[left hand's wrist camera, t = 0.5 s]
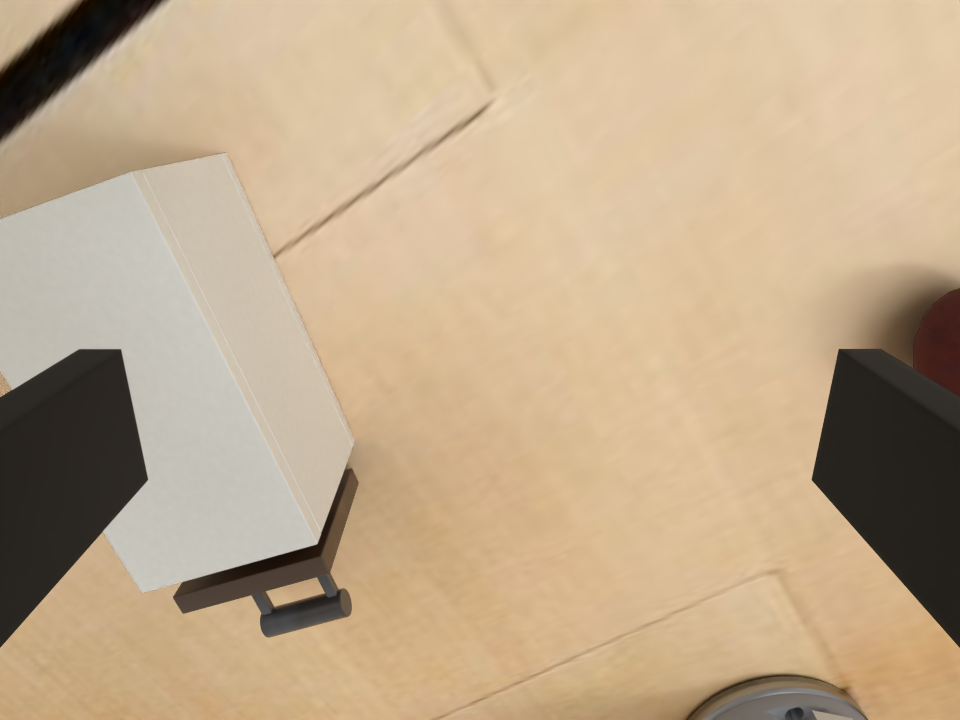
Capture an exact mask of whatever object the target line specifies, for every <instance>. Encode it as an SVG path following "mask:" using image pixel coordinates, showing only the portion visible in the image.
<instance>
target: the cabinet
mask: <svg viewBox="0 0 960 720" xmlns="http://www.w3.org/2000/svg"><path fill="white" fill-rule="evenodd" d="M79 349H121V351H122V356H123V360H124V365H125V370H126V375H127V380H128V385H129V389H130V394H131V399H132V404H133V409H134V413H135V418H136V423H137V428H138V433H139V437H140V442H141V447H142V452H143V457H144V461H145V466H146V471H147V476H148V481H147V482H146V483H145V484H144V485H143V486H142V488H141V489H140V490H139V491H138V492H137V493H136V494H135V496H134V497H133V498H132V499H131V500H130V501H129V502H128V503H127V505H126V506H125V507H124V508H123V509H122V510H121V511H120V513H119V514H118V515H117V516H116V517H115V518H114V519H113V520H112V522H111V523H110V524H109V525H108V526H107V527H106V528H105V530H104V531H103V533H104V535H105V537H106V538H107V540H108V541H109V543H110V544H111V546H112V548H113V549H114V551H115V552H116V554H117V555H118V557H119V559H120V560H121V562H122V563H123V565H124V566H125V568H126V569H127V571H128V573H129V574H130V576H131V577H132V579H133V580H134V582H135V584H136V585H137V587H138V588H139V590H140V591H141V593H145V592H149V591H152V590H156V589H159V588H163V587H166V586H170V585H174V584H177V583H181V582H184V581H188V580H191V579H195V578H199V577H202V576H206V575H209V574H213V573H216V572H220V571H224V570H227V569H231V568H234V567H238V566H241V565H245V564H249V563H252V562H256V561H259V560H263V559H266V558H270V557H274V556H277V555H281V554H284V553H288V552H291V551H295V550H299V549H302V548H306V547H309V546H313V545H316V544H318V541H319V538H320V536H321V532H322V530H323V527H324V524H325V521H326V519H327V516H328V513H329V511H330V508H331V505H332V502H333V500H334V497H335V494H336V492H337V489H338V486H339V483H340V481H341V478H342V475H343V473H344V470H345V467H346V464H347V462H348V459H349V456H350V453H351V451H352V448H353V446H354V443H355V439H354V437H353V434H352V432H351V430H350V428H349V425H348V423H347V421H346V419H345V416H344V414H343V412H342V410H341V408H340V405H339V403H338V401H337V399H336V396H335V394H334V392H333V390H332V387H331V385H330V383H329V381H328V378H327V376H326V374H325V372H324V369H323V367H322V365H321V363H320V360H319V358H318V356H317V354H316V351H315V349H314V347H313V345H312V342H311V340H310V338H309V336H308V334H307V331H306V329H305V327H304V325H303V322H302V320H301V318H300V316H299V313H298V311H297V309H296V307H295V304H294V302H293V300H292V298H291V295H290V293H289V291H288V289H287V286H286V284H285V282H284V280H283V277H282V275H281V273H280V271H279V268H278V266H277V264H276V262H275V260H274V257H273V255H272V253H271V251H270V248H269V246H268V244H267V242H266V239H265V237H264V235H263V233H262V230H261V228H260V226H259V224H258V221H257V219H256V217H255V215H254V212H253V210H252V208H251V206H250V203H249V201H248V199H247V197H246V194H245V192H244V190H243V188H242V186H241V183H240V181H239V179H238V177H237V174H236V172H235V170H234V168H233V165H232V163H231V161H230V159H229V156H228V154H227V153H221V154H217V155H212V156H207V157H202V158H197V159H192V160H187V161H182V162H177V163H172V164H167V165H162V166H157V167H152V168H147V169H142V170H136V171H131V172H128V173H125V174H122V175H120V176H117V177H114V178H111V179H109V180H106V181H103V182H100V183H98V184H95V185H92V186H89V187H86V188H84V189H81V190H78V191H75V192H73V193H70V194H67V195H64V196H62V197H59V198H56V199H53V200H50V201H48V202H45V203H42V204H39V205H37V206H34V207H31V208H28V209H26V210H23V211H20V212H17V213H15V214H12V215H9V216H6V217H3V218H1V219H0V372H1V374H2V375H3V377H4V378H5V380H6V381H7V383H8V385H9V386H10V388H11V389H12V390H13V389H15V388H16V387H18V386H20V385H21V384H23V383H25V382H26V381H28V380H29V379H31V378H33V377H34V376H36V375H38V374H39V373H41V372H43V371H44V370H46V369H47V368H49V367H51V366H52V365H54V364H56V363H57V362H59V361H61V360H62V359H64V358H65V357H67V356H69V355H70V354H72V353H74V352H75V351H77V350H79Z"/></svg>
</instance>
